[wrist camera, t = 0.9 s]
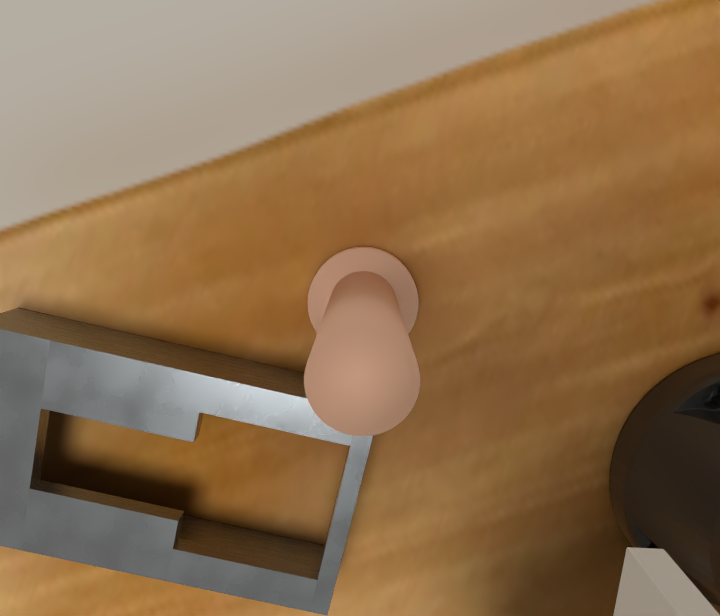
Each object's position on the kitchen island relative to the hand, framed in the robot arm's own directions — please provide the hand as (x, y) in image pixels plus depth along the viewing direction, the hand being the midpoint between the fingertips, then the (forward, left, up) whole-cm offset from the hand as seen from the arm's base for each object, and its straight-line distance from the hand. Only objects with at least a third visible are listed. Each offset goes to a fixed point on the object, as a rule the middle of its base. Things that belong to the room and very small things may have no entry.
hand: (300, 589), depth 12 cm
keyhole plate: (+8, +9, -22) cm, 25 cm away
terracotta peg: (-1, -2, -22) cm, 22 cm away
